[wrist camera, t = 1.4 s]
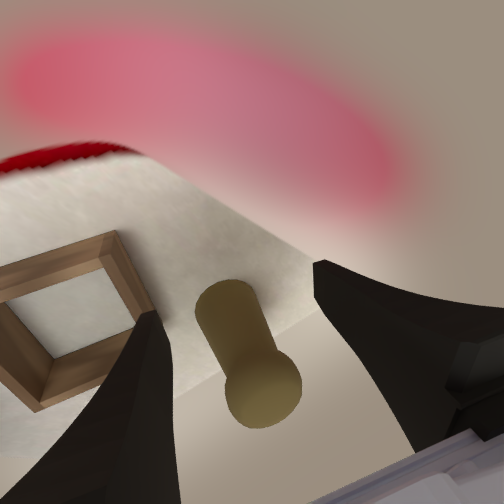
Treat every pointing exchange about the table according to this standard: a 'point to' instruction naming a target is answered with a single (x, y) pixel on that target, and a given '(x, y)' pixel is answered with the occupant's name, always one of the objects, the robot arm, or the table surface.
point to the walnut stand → (81, 361)
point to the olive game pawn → (248, 355)
